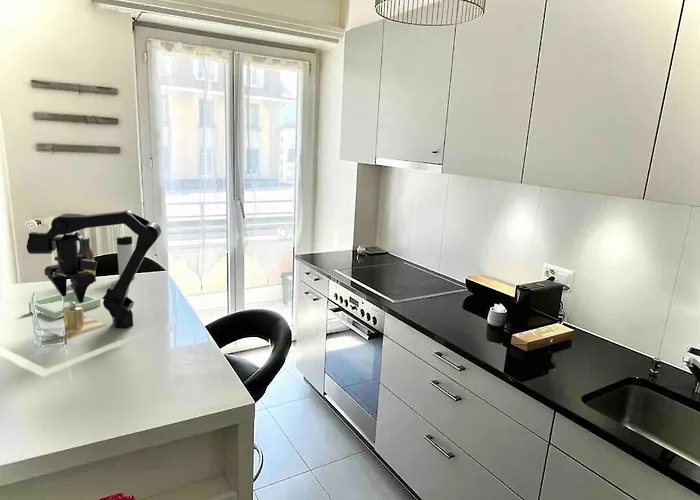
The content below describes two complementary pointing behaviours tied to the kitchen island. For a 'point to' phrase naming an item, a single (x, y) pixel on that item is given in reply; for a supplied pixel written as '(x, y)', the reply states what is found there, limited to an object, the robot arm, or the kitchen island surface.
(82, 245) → the sauce bottle
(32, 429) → the kitchen island surface
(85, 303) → the bin
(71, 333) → the stud plate
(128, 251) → the travel mug
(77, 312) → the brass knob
